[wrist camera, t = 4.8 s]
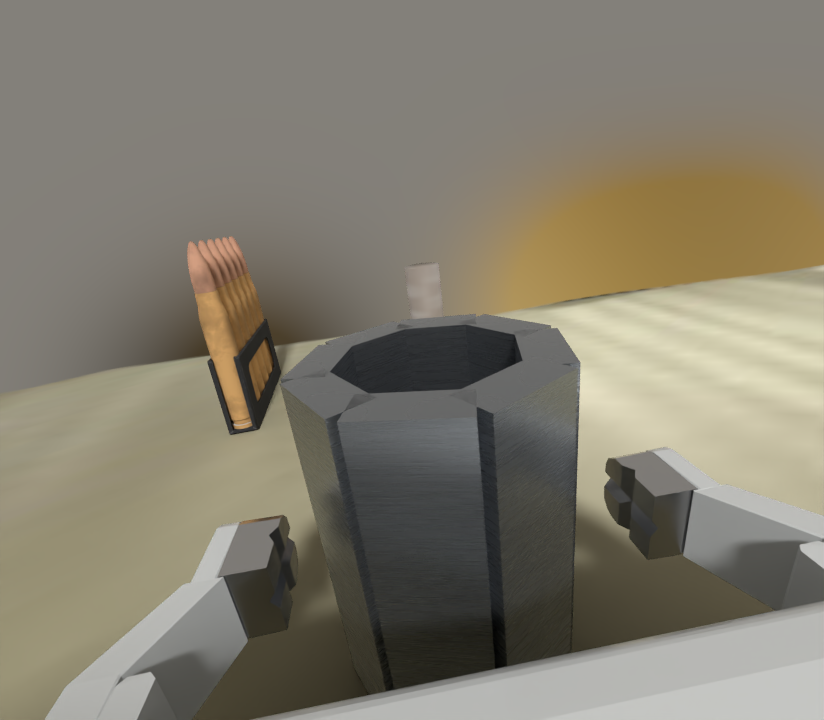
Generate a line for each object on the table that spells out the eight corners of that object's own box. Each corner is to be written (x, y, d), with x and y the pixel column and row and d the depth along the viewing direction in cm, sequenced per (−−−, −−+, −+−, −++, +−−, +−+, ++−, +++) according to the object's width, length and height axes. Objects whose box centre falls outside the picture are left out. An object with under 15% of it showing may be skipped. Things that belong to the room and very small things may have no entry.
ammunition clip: (258, 430, 26) (202, 240, 21) (229, 436, 25) (166, 244, 21) (281, 372, 36) (245, 234, 31) (260, 375, 35) (221, 237, 31)
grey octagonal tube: (332, 742, 10) (229, 425, 7) (383, 547, 15) (341, 324, 12) (590, 773, 9) (613, 412, 6) (545, 552, 14) (544, 308, 11)
